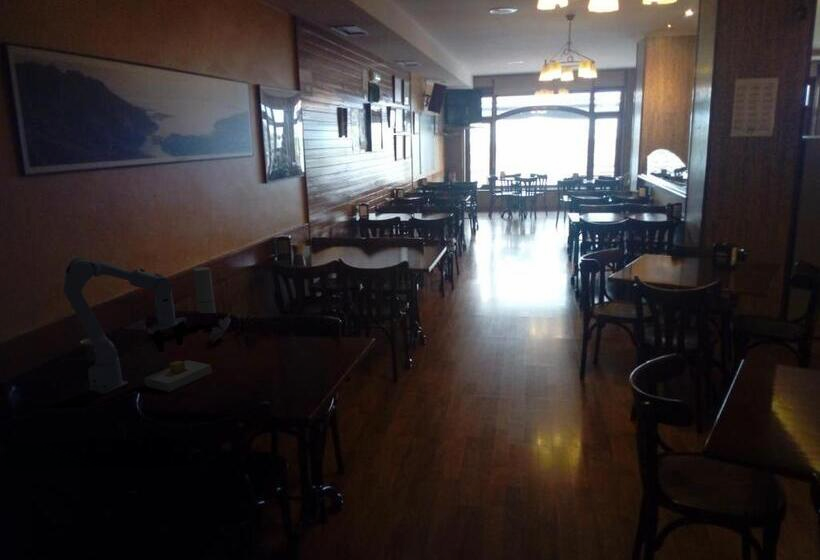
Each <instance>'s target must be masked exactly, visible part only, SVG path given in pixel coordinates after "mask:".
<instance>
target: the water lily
mask: <svg viewBox="0 0 820 560" xmlns="http://www.w3.org/2000/svg"><path fill="white" fill-rule="evenodd" d="M230 314H231V313H230V312H229V313H228V315H227V316H226V317H223V319H220V318H219V319H218V325H219V326H218V327H217V326H216V327H215V326H214V327H212V328H211V331H210V332H209V334H211V335H209V338H210V339H209V340H212V341H211V342H210V344H209V345H212V344H213V343H215V342H216V341H217V340H218V339H220V337H221V336H223V334H226V335H227V336H228V337H229V338H230V340H233V339H234V338H233V336H231V334H230V333H228V332H227V331H226V330H227V329H228V328H229V326H230V323H231V318H230ZM211 343H212V344H211Z"/></svg>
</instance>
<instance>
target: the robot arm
mask: <svg viewBox="0 0 820 560" xmlns="http://www.w3.org/2000/svg"><path fill="white" fill-rule="evenodd" d="M104 275H105V276H110V277H113V278H117V279H121V280H125V281H128V282H129V285H131V287H135V288H136V287H137V288H140V289H143V290H146V291H154V302H155V309H156V316H157V323H156V324H155V325H154V324H153V325H152V326H150V327H147V328H146V329H147V334H148V335H149V337H150V338H151V339H152V340H153V343H154V344H155V346H156V348H157V350H158V352H160V353H164V352H165V345H164V342H165V341H164V338H165V333H163V332H161V331H164V330H167V329H171V328H172V330H173V333H174V335H175V336H174V337H175V342H176V346H177V345H179V346H182V345H183V342H184V336H185V332H186V330H187V328H188V327H187V326H188V324H186V323H187V317H185V316H180V317H178V318H176V314H175V313H176V312H175V306H174V297H173V293H172V290H173V289H174V285H173V283H172V282H171V280H170V279H168V277H166V276H164V275H162V274H159V273H157V272H156V273H152V272H149V271H146V269H144V268H143V267H142V268H140V269H137V268H136V269H133V270H131V271H130V270H127V269H125V268H121V267H119V266H115V265H113V264H109V263H107V262H103V261H100V260H94V259H90V258H89V259H86V258H84V257H76V258H74V259H72V260H71V261H70V262H69V264H68V266H67V267H66V268H65V277H64V284H63V293H64V295H65V297H66V298H67V300H68V302H69V304H70V305H71V307H72V309H73V311H74V313H75V315H76V316H77V318H78V320H79V322H80V323H81V325H82V327H83V328H84V330H85V332H86V334H87V335H88V338H89V339H90V341H91V343H92V345H93V352H94V354H95V355H96V358H95V360H94V364H93V365H92V366H90V367H89V368H88V370H87V374H88V375H87V376H88V381H89V390H90V391H93V392H96V393H101V394H107V393H109V392H111V391H113V390H117V389H119V388H121V387H124V386H126V385H129V381H125V380H123V375H122V369H121V362H120V358H119V356H118V355H119V353H118V352H119V351H118V349H117V348H116V346H115V344H114V342H113V341H112V340H110V339H109V338H108V337H107V336H106V334H105V332H104V330H103V328H102V327H101V325H100V323H99V321H98V320H97V318H96V316H95V314H94V313H93V311H92V309H91V307H90V305H89V303H88V301H87V299H86V298H85V296H84V294H83V292H82V291H83V289H84V287H85V286H86V283H88V281H90V280H91V279H92V277H93V276H94V277H95V278H97V277H102V276H104Z"/></svg>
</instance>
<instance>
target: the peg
mask: <svg viewBox="0 0 820 560" xmlns="http://www.w3.org/2000/svg"><path fill="white" fill-rule="evenodd" d="M168 365H169V367H170V373H171V374H176V375H178V374H180V373H183V372H185V371H186V370H185V363H184V361H181V360H175V361H173V362H170V363H168ZM169 367H168V368H169Z"/></svg>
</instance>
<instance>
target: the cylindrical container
mask: <svg viewBox="0 0 820 560" xmlns="http://www.w3.org/2000/svg"><path fill="white" fill-rule="evenodd" d="M211 271H212V270H211V267H209V266H202V267H200V266H199V267H195V268H193V269H192V274H193V281H194V287H195V295H196V303H197V310H198V311H197V312H198V313H199V312H200V313H216V314H217V312H216V305H215V304H216V303H215V296H214V295H215V294H214V289H213V288H214V287H213V280H212V272H211Z"/></svg>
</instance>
